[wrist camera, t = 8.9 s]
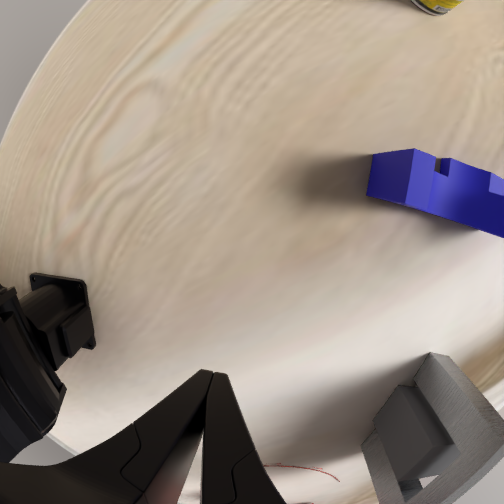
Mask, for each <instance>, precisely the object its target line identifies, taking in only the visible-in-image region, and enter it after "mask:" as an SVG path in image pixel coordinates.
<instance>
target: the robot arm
mask: <svg viewBox="0 0 504 504" xmlns="http://www.w3.org/2000/svg"><path fill="white" fill-rule="evenodd" d="M34 278H35V279H34ZM30 282H31V288H32V292H31V293H29V294H27V295H26V296H24V297H23V298H21V299H20V300H18V298H17V295H16V294H17V292H16V290H15V287H11V288H9V289H7V288H5V287H3V286H2V285H1V284H0V504H177V502H178V499H179V496H180V494H181V491H182V489H183V486H184V483H185V481H186V478H187V476H188V473H189V470H190V468H191V465H192V462H193V460H194V457H195V454H196V452H197V449H198V446H199V444H200V441H201V438H202V435H203V447H202V467H201V491H200V504H286V502H285V501H284V499H283V498H282V496H281V495H280V493H279V492H278V490H277V489H276V487H275V486H274V484H273V483H272V481H271V479H270V477H269V476H268V474H267V472H266V470H265V468H264V466H263V464H262V462H261V460H260V457H259V455H258V453H257V450H255V449H256V448H255V446H254V443H253V441H252V438H251V436H250V433H249V431H248V428H247V426H246V423H245V420H244V418H243V415H242V413H241V410H240V407H239V405H238V402H237V399H236V397H235V394H234V391H233V388H232V386H231V383H230V380H229V377H228V375H227V374H225V373H220V372H215V373H213V371H209V370H204V369H201V370H199V371H198V372H197V373H195V374H194V375H193V376H192V377H191V378H189V379H188V380H187V381H186V382H184V383H183V384H182V385H181V386H179V387H178V388H177V389H176V390H174V391H173V392H172V393H171V394H169V395H168V396H167V397H166V398H164V399H163V400H162V401H160V402H159V403H158V404H157V405H155V406H154V407H153V408H151V409H150V410H149V411H147V412H146V413H145V414H144V415H142V416H141V417H140V418H138V419H137V420H136V421H134V422H133V423H131V424H130V425H129V426H127V427H126V428H125V429H123V430H122V431H120V432H119V433H117V434H116V435H114V436H113V437H111V438H110V439H108V440H106V441H104V442H103V443H101V444H99V445H97V446H95V447H93V448H91V449H89V450H87V451H85V452H83V453H81V454H79V455H77V456H75V457H73V458H71V459H69V460H67V461H64V462H62V463H59V464H56V465H50V466H36V465H35V466H34V465H22V464H12V463H9V462H10V461H11V460H12V459H13V458H14V457H15V456H16V455H17V454H18V453H19V452H20V451H22V450H23V449H24V448H26V447H27V446H28V445H30V444H32V443H34V442H36V441H38V440H40V439H42V438H43V436H44V435H46V434H47V433H48V432H49V431H50V430H51V429H52V428H53V426H54V425H55V422H56V420H57V417H58V414H59V411H60V408H61V405H62V402H63V399H64V396H65V393H66V390H67V388H66V387H65V385H64V384H63V383H62V382H61V381H60V379H59V377H58V376H57V374H56V373H55V371H57V370H58V369H59V368H60V366H61V365H62V364H63V363H64V362H65V361H66V360H67V359H68V358H72V357H73V356H74V355H75V354H76V353H77V352H78V350H79V349H80V348H81V347H82V348H86V349H90V350H92V349H94V348H95V346H96V342H95V337H94V328H93V323H92V317H91V311H90V307H89V302H88V295H87V287H86V284H85V282H84V281H83V280H80V279H73V278H66V277H59V276H53V275H46V274H40V273H33V274H31V275H30ZM79 284H80V285H81V287H82V288H80V286H79ZM90 343H91V344H90Z"/></svg>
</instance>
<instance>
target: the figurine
mask: <svg viewBox="0 0 504 504" xmlns="http://www.w3.org/2000/svg"><path fill="white" fill-rule="evenodd" d="M279 464H281V463H279ZM264 466H267V465H264ZM281 467H296V466H281ZM296 468H303V467H296ZM313 468H315V467H313ZM304 469H310V468H304ZM318 469H322V468H318ZM311 470H315V469H311ZM316 471H320V470H316ZM320 472H322V471H320ZM323 473H325V472H323ZM326 474H328V473H326ZM329 475H330V474H329ZM331 476H332V475H331ZM333 477H334V476H333ZM334 478H336V477H334ZM336 479H337V478H336ZM337 480H338V479H337ZM338 481H339V480H338ZM339 482H340V481H339ZM312 504H314V503H312Z"/></svg>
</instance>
